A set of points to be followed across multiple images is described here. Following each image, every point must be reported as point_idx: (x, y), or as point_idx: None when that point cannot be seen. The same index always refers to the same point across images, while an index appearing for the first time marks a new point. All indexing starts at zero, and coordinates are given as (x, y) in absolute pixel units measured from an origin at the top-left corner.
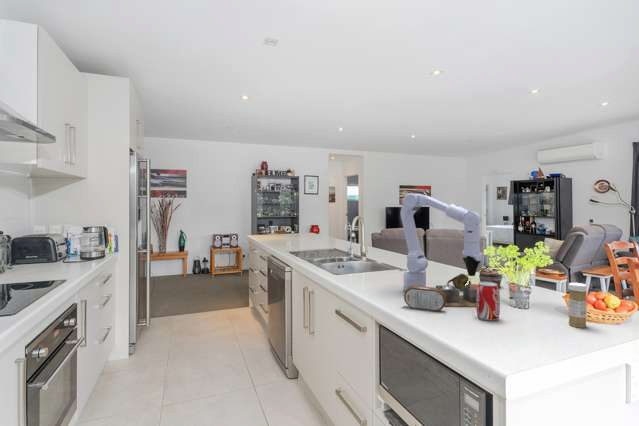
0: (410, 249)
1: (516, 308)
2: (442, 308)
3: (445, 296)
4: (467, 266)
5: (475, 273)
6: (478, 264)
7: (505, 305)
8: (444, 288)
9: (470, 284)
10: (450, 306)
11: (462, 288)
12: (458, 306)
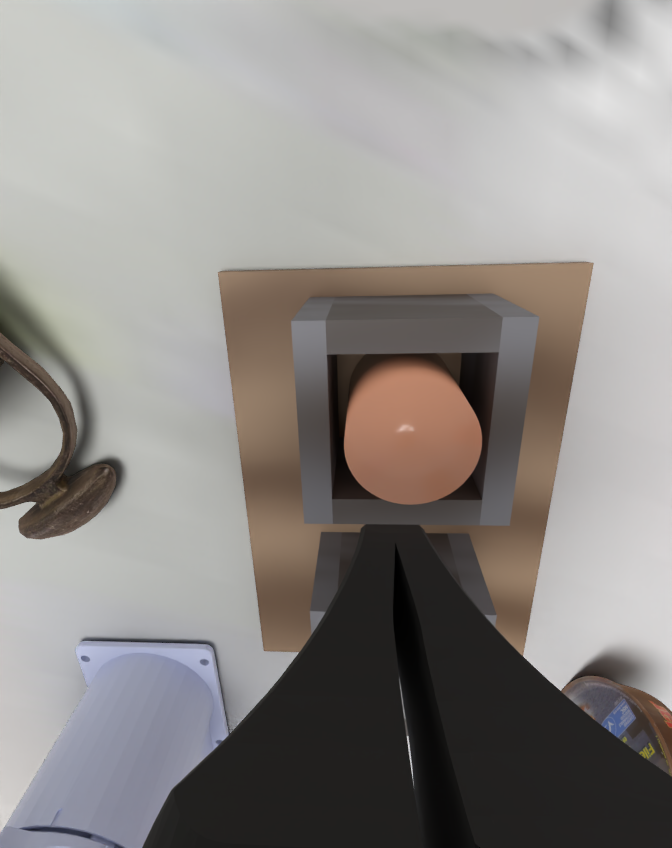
0: None
1: (656, 19)
2: (644, 692)
3: (670, 753)
4: (414, 787)
5: (430, 545)
6: (580, 709)
7: (532, 108)
8: None
9: (375, 490)
10: (528, 602)
11: (55, 391)
12: (536, 555)
